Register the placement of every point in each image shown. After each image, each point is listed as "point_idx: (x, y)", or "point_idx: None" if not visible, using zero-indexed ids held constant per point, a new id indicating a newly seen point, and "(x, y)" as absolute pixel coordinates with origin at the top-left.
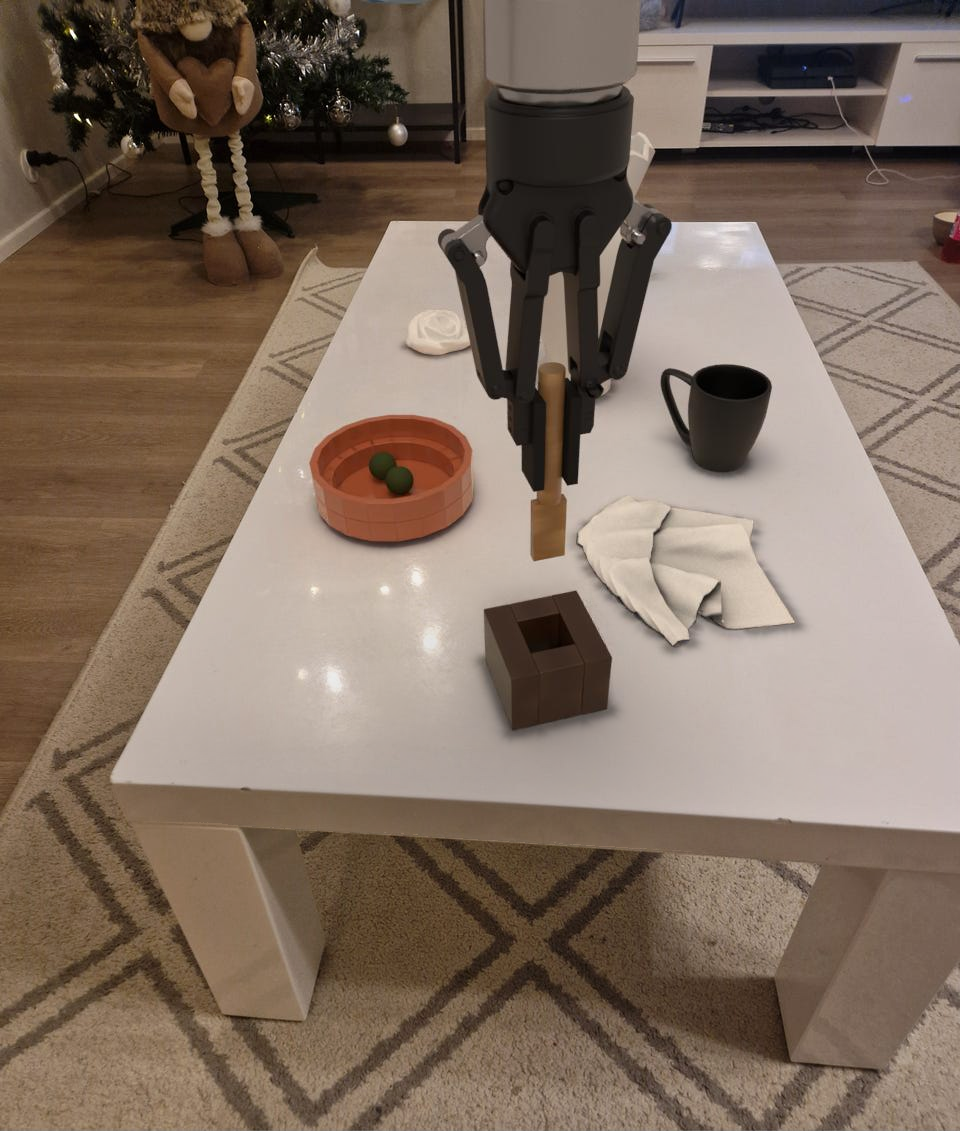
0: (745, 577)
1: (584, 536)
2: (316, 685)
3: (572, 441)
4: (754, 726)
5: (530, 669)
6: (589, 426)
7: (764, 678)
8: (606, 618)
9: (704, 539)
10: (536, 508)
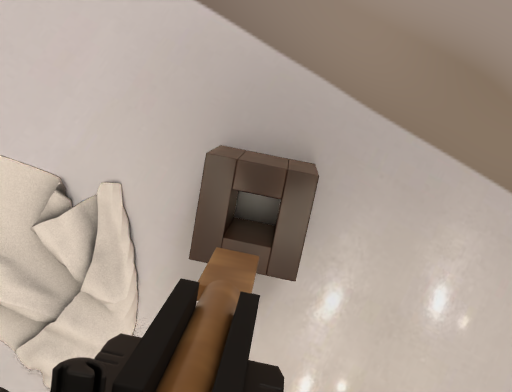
0: (3, 228)
1: None
2: (457, 302)
3: (169, 324)
4: (106, 62)
5: (293, 179)
6: (117, 342)
7: (63, 107)
8: (159, 246)
9: (11, 287)
10: (247, 291)
